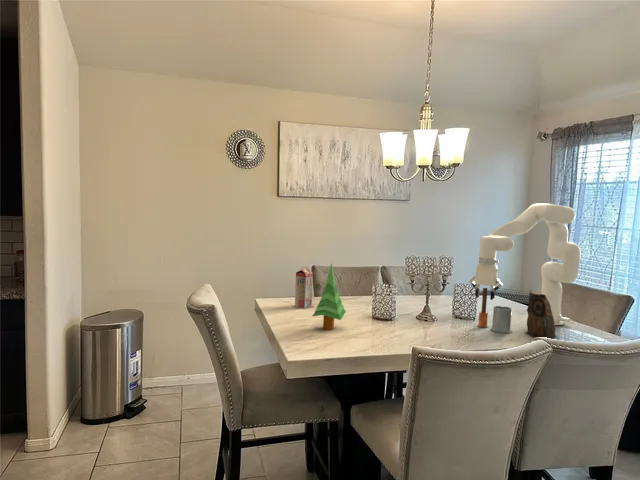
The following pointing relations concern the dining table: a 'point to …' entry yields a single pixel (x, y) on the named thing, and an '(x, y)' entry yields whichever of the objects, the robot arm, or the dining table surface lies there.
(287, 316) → the dining table surface
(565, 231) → the robot arm
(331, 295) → the decorative tree
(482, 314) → the orange and brown rod
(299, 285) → the juice carton
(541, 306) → the owl
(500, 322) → the grey cup
